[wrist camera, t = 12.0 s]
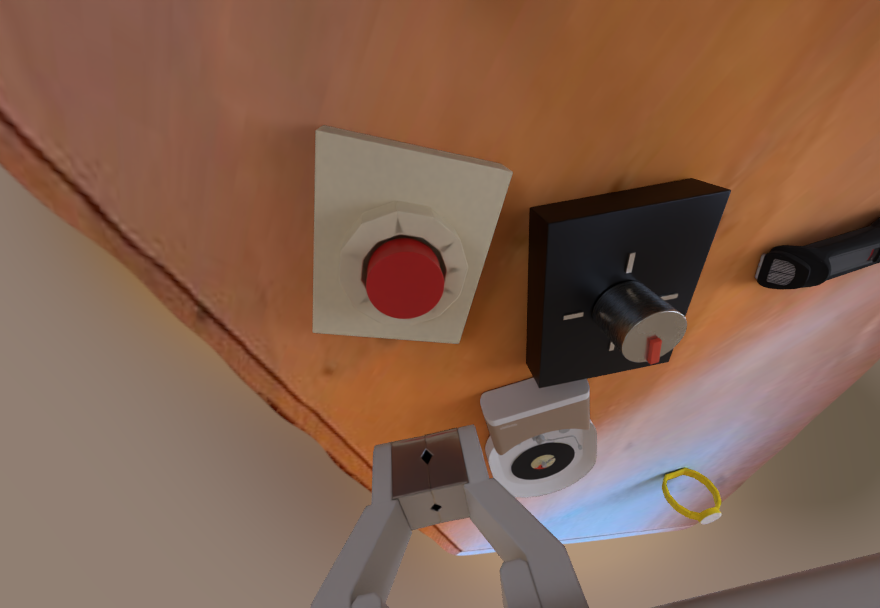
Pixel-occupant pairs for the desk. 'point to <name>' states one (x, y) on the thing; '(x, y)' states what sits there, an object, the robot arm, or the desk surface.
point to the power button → (404, 279)
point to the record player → (539, 436)
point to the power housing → (398, 228)
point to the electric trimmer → (819, 259)
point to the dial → (639, 322)
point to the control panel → (611, 268)
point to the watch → (702, 517)
